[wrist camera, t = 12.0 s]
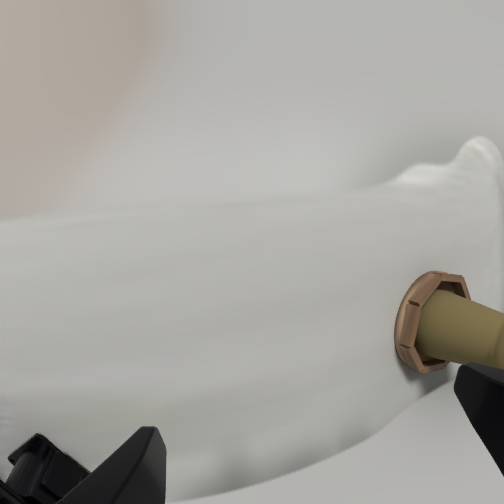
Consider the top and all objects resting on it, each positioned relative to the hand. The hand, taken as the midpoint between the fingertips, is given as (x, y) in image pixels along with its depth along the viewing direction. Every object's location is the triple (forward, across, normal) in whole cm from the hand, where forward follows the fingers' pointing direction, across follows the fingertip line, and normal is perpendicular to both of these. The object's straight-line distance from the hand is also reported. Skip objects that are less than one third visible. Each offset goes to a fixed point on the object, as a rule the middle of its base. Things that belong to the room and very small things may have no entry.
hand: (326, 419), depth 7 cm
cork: (+14, -14, +6) cm, 21 cm away
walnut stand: (+14, -14, +6) cm, 21 cm away
